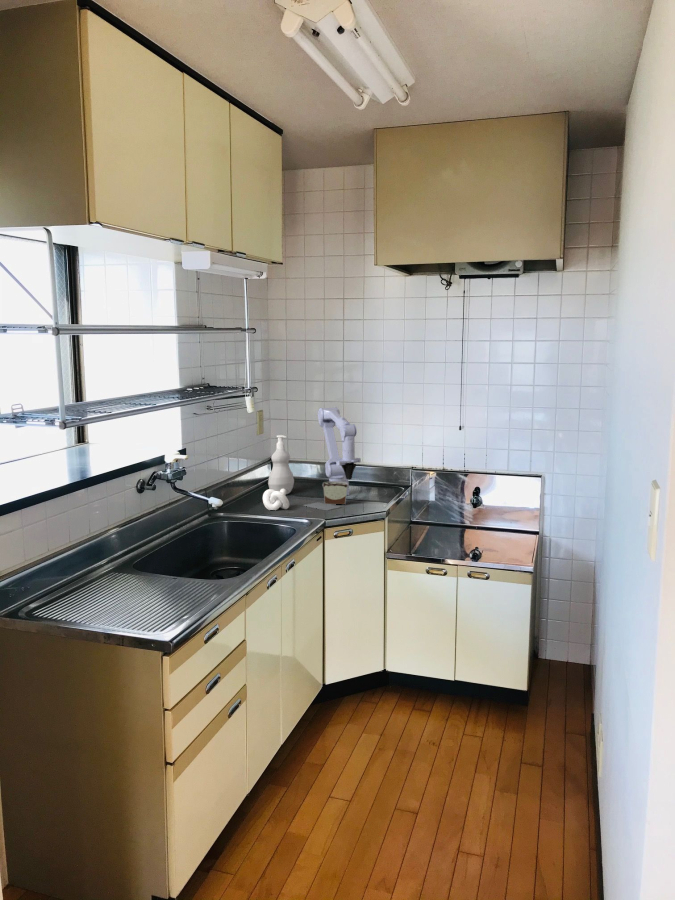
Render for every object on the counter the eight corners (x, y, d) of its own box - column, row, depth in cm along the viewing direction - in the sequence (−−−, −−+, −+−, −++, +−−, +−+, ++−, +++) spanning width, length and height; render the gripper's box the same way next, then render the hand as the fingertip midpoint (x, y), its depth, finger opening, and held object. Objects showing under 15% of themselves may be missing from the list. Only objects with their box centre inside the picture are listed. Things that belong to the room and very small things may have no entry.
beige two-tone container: (349, 502, 334) (349, 481, 333) (348, 505, 328) (348, 483, 327) (323, 502, 335) (323, 480, 334) (321, 504, 329) (322, 482, 328)
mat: (317, 502, 334) (317, 502, 334) (342, 507, 323) (342, 506, 323) (302, 505, 328) (302, 505, 328) (327, 510, 317) (327, 510, 316)
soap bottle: (283, 497, 348) (282, 437, 344) (262, 496, 353) (261, 436, 349) (299, 491, 363) (298, 434, 359) (279, 490, 368) (278, 433, 364)
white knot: (268, 506, 329) (267, 486, 328) (293, 506, 327) (293, 487, 325) (261, 511, 318) (260, 491, 317) (287, 511, 316) (287, 491, 314)
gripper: (343, 452, 327) (344, 482, 328) (365, 449, 337) (365, 478, 339) (332, 451, 332) (333, 480, 333) (354, 448, 342) (354, 476, 344)
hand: (348, 479), depth 336 cm, fingers closed
